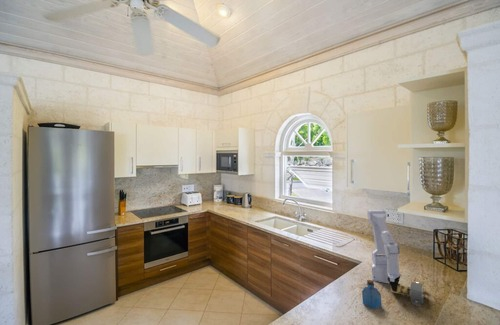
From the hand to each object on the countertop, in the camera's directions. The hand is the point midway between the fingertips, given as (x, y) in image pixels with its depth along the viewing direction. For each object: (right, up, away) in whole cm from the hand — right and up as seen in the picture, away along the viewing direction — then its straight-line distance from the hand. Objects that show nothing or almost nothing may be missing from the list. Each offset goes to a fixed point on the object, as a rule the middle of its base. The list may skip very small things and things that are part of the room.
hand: (394, 289), depth 133 cm
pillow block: (+8, -1, -6) cm, 10 cm away
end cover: (+3, -2, -2) cm, 4 cm away
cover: (+15, -1, +2) cm, 15 cm away
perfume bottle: (-18, -3, -10) cm, 21 cm away
